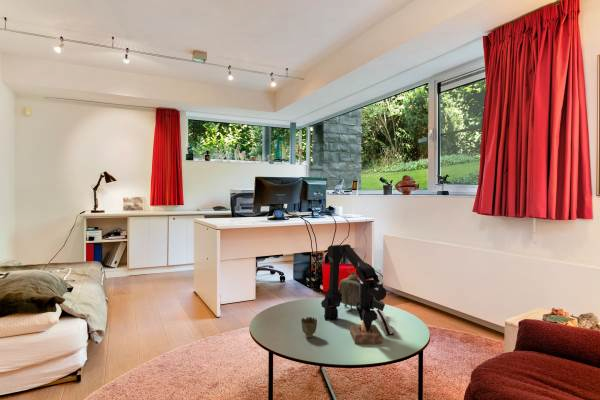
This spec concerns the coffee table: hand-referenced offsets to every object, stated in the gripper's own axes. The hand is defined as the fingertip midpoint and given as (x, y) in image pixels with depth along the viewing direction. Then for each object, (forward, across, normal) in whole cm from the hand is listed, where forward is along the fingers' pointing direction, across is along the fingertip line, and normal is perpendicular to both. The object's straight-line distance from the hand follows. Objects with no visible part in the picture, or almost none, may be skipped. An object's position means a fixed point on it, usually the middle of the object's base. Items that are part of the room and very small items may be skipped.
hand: (365, 327), depth 158 cm
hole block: (+5, 0, 0) cm, 5 cm away
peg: (+5, 0, 0) cm, 5 cm away
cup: (+5, +2, +26) cm, 27 cm away
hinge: (+5, +11, -11) cm, 17 cm away
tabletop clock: (+5, +37, -1) cm, 37 cm away
